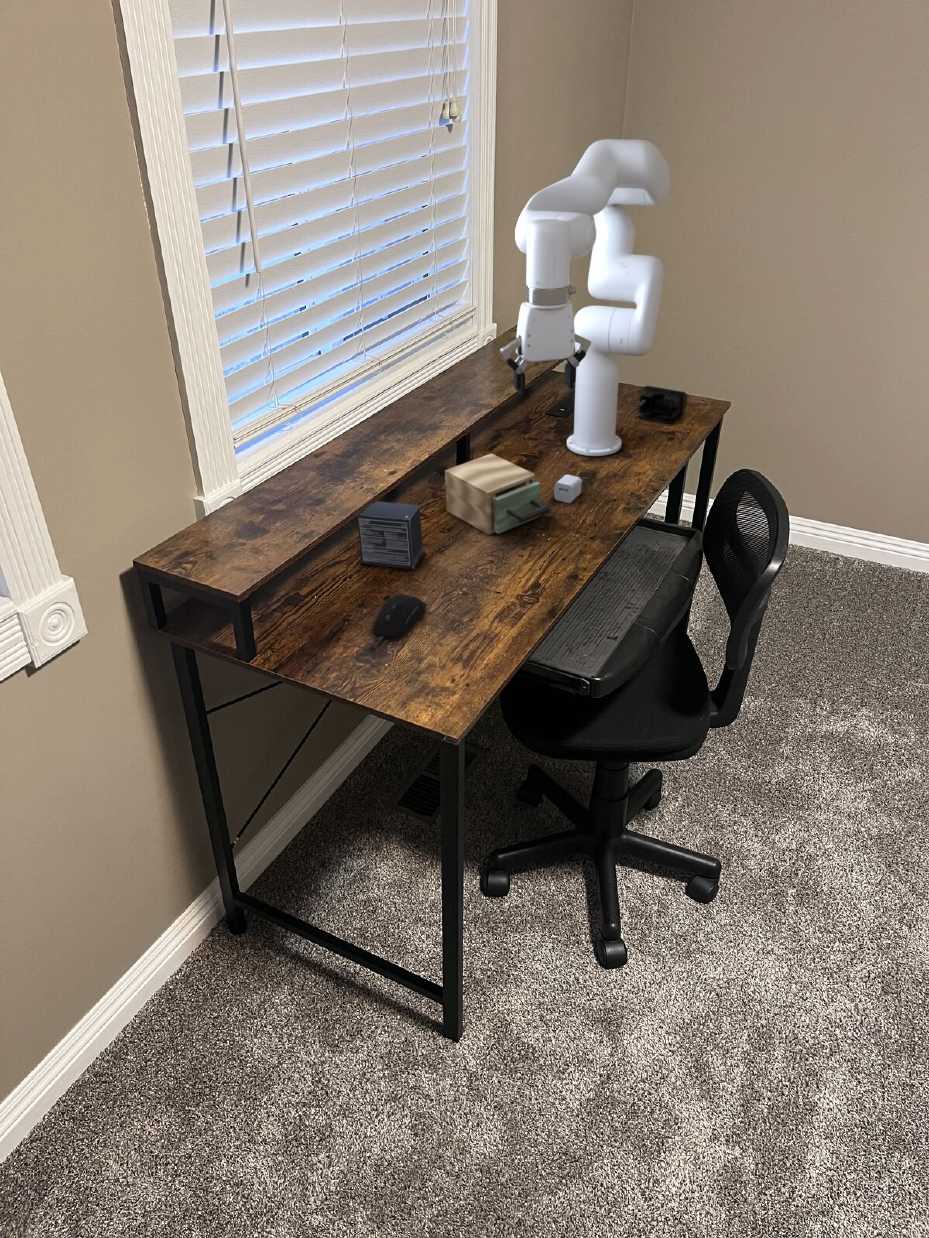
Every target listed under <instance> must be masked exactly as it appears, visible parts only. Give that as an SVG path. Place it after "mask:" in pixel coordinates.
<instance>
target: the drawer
mask: <svg viewBox="0 0 929 1238" xmlns="http://www.w3.org/2000/svg"><path fill="white" fill-rule="evenodd" d="M541 486H542V485H541V482H540V481H536V480H535V482H534V483H531V484H529V481H526V482H524V483H521V484H519V485H516V486H514V487H511V488H509V489H506V490H503V491H501V492H498V493H496V494H493V495H491V520H492V527H493V526H494V530H495V532H494V533H496V534H502V533H504V532H506V531H508V530H511V529H513V528H515V527H518V526H520V525H523V524H525V523H528V522H530V521H532V520H535V519H537V518H539V517H541V516H542V515H544V514H546V513H549V512H550V511H551V508H550V506H549V505H548V504H544V505H543V504H542V503H541Z"/></svg>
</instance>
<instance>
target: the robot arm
mask: <svg viewBox="0 0 929 1238" xmlns="http://www.w3.org/2000/svg"><path fill="white" fill-rule="evenodd" d="M670 186H671V173H670V168H669V165H668V163H667V160H666V159H665V158H664V156H663V154H662V152H661V151H660V149H659V148H658V147H657V146H656V145H655V144H654V143H653V142H651V141H649V140H646V139H636V138H635V139H630V138H604V139H598V140H597V141H594V142H593V143H591V144H590V145H589V146H588V147H587V148H586V150H585V151H584V153H583V155H582V156H581V158H580V160H579V162H578V163H577V165H576V167H575V168H574V170H573V171H572V173H571V174H570V176H567V177H565V178H563V179H560V180H558V181H557V182H554V183H552V184H551V185H548V186H546V187H544V188H543V189H540V190H539V191H537V192H536V193H535V194H533V195H532V196H531V197H530V198H529V200H528V201H527V202H526V204H525V206H524V207H523V209H522V211H521V213H520V215H519V217H518V219H517V222H516V226H515V232H514V233H515V234H514V238H515V244H516V247H517V248H518V249H519V251H520V252H521V253H523V255H524V254H525V255H526V267H525V269H526V271H525V273H526V276H525V281H526V282H525V288H526V289H525V301H523V302H521V304H520V308H519V312H518V320H517V327H516V336H515V339H513V340H511V341H510V342H509V343H507V344H505V345H504V346H502V347H501V348H499V353H500V354H501V357H502V358H503V361H504V362H505V364H506V365H507V366H508V367H510V368H511V369H512V371H513V388H514V390H516V392H517V393H518V394H519V395H521V396H524V395H525V394H526V374H525V372H524V371H525V369H526V368H527V366H528V365H529V364H530V363H540V362H541V363H542V362H549V361H551V362H552V361H558V360H565V361H566V363H565V364H564V374H563V375H564V376H563V377H564V379H563V385H564V386H565V387H567V388H568V389H570V390H573V389H575V390H574V412H573V415H574V416H573V417H574V418H573V433H572V434H571V435H569V436H568V437H567V438H566V446H567V448H568V449H569V450H570V451H571V452H572V453H575V454H578V455H581V456H588V457H603V456H608V455H612V454H615V453H617V452H619V450H620V449H621V448H622V443H623V441H622V438H621V437H619V436H618V435H616V433H617V432H616V430H617V414H618V413H617V412H618V401H619V399H618V398H619V381H620V371H619V367H618V364H617V362H616V360H615V358H614V356H613V354H614V355H621V356H631V357H633V356H635V357H643V356H646V355H647V354H648V353H649V352H650V351H651V349H652V347H653V344H654V341H655V336H656V333H657V331H656V330H657V324H658V319H659V313H660V307H661V301H662V295H663V290H664V283H665V271H664V270H665V269H664V265H663V262H662V261H661V260H660V258H658V257H656V256H653V255H648V254H634V248H635V247H634V246H635V240H636V235H637V234H636V232H637V231H636V226H635V224H634V222H633V220H632V218H631V216H630V215H629V213H628V212H627V210H626V209H625V208H624V206H623V205H626V206H643V207H644V206H645V207H652V206H653V207H655V206H658V205H661V204H662V203H663V202H664V201H665V199H666V198H667V196H668V194H669V192H670V191H669V190H670V188H671V187H670ZM591 217H592V218H591ZM591 250H592V251H591ZM590 252H591V257H590V263H589V268H588V269H589V270H588V277H587V290H588V293H589V294H590V296H591V297H593V298H595V299H597V300H602V301H611V302H623V303H633V304H635V305H636V308H630V307H618V306H610V305H588V306H584V307H582V308H581V309H580V310H578V311H577V312H576V314H575V316H574V309H573V304H572V302H571V301H570V296H572V295H575V294H576V292H577V288H576V286H575V285H571V284H570V263H571V260H575V259H581V258H583V257H585V256H587V255H588V254H589V253H590ZM514 351H515V353H516V355H517V358H516V359H515V360H513V357H512V355H511V354H512V352H514Z"/></svg>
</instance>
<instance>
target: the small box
mask: <svg viewBox="0 0 929 1238" xmlns="http://www.w3.org/2000/svg"><path fill="white" fill-rule="evenodd" d="M375 501H376V502H375V503H373V504H372V505H370V507H368V508H366V510H364V511H363V512H362V513H360V514H359V515H358V516H357V517H356V522H357V523H356V524H357V532H358V540H359V547H360V548H359V549H360V557H361V559H360V561H361V562H360V563H361V564H362V565H370V566H377V567H378V566H379V567H386V568H387V567H388V568H397V569H405V570H414V569H415V568H416V566H417V565H418V563H419V562H420V560H421V559H422V557H423V556H424V547H423V546H424V545H423V532H422V518H421V517H422V516H421V505H419V504H408V503H397V502H386V501H377V500H375Z"/></svg>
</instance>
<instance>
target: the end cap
mask: <svg viewBox="0 0 929 1238" xmlns="http://www.w3.org/2000/svg"><path fill="white" fill-rule="evenodd" d="M638 400H639V402H642V401H643V402H642V403H641V404H640V405H639V406H638V413H639V414H638V418H639V419H640V420H641V419H642V420H645V421H651V422H656V423H663V424H667V425H674V424H676V422H678V421H679V420H680V419H681V417H682V416H684V413H685V411H686V408H687V403H688V394H687V393H686V391H681V390H675V389H669V388H665V387H664V388H663V387H659V386H652V385H645V386H644V392H642V393H641V394H640V395H639V398H638Z"/></svg>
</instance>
